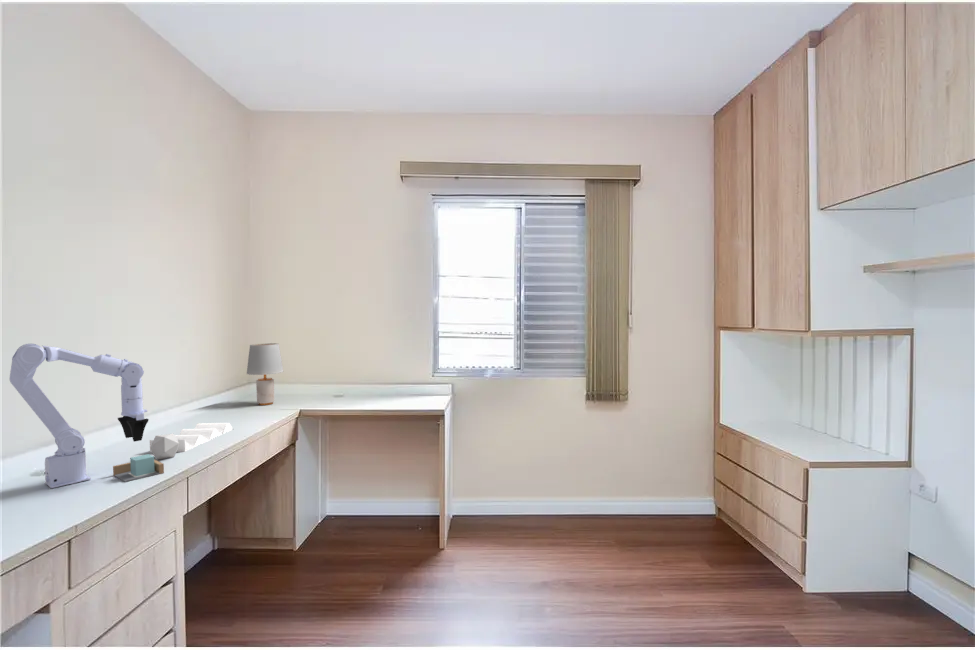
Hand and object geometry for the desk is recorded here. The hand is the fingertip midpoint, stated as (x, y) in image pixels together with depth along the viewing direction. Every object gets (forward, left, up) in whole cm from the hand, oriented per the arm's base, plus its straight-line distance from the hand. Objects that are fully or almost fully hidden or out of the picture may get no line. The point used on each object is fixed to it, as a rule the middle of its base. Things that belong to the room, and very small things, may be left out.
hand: (133, 439), depth 162 cm
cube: (0, -9, -10) cm, 13 cm away
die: (+11, +6, -10) cm, 16 cm away
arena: (-1, -8, -10) cm, 13 cm away
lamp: (+85, +76, -10) cm, 115 cm away
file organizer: (+28, +24, -11) cm, 38 cm away
